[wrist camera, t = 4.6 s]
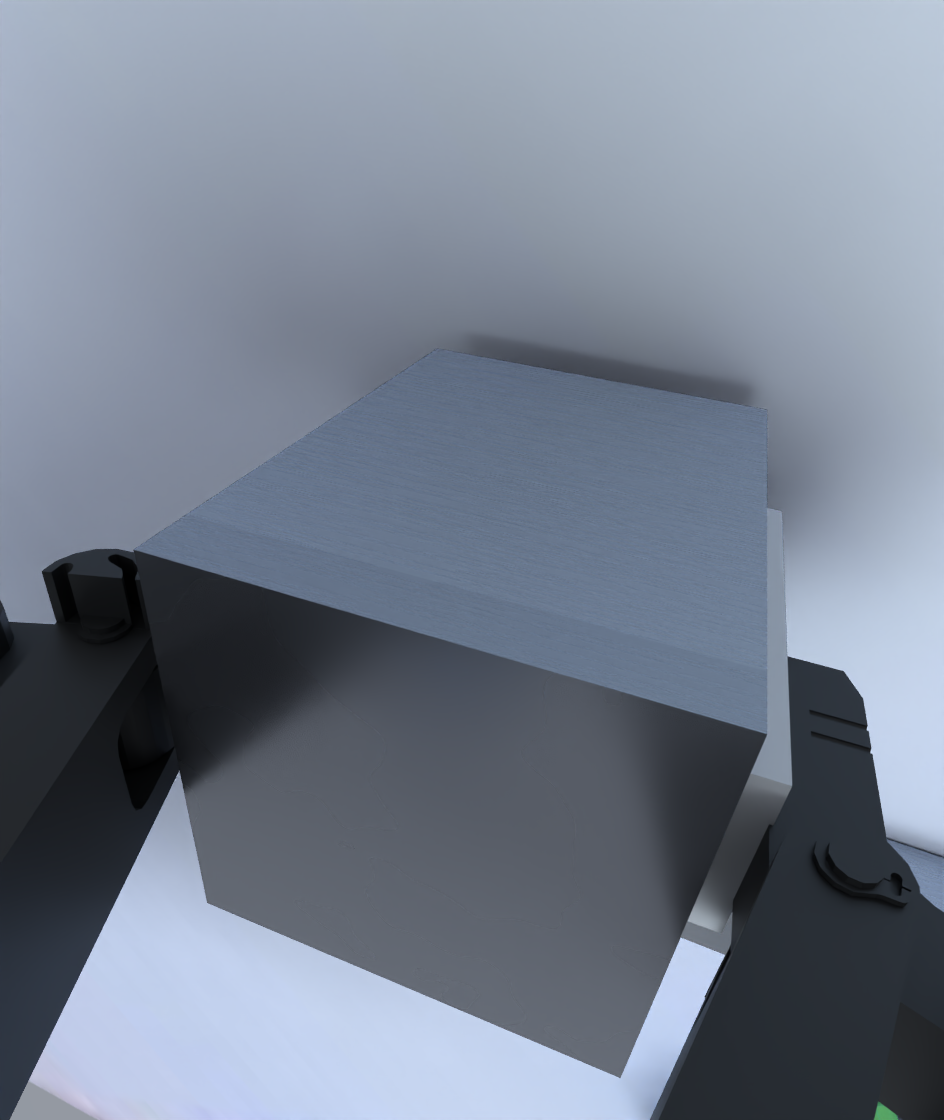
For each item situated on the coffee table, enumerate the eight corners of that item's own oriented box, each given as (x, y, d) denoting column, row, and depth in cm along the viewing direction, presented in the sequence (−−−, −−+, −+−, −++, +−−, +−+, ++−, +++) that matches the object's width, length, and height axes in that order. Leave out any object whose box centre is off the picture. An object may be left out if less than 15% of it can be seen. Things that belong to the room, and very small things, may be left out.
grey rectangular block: (423, 603, 17) (206, 903, 10) (437, 348, 13) (133, 549, 7) (682, 676, 15) (620, 1077, 9) (766, 409, 12) (766, 734, 6)
